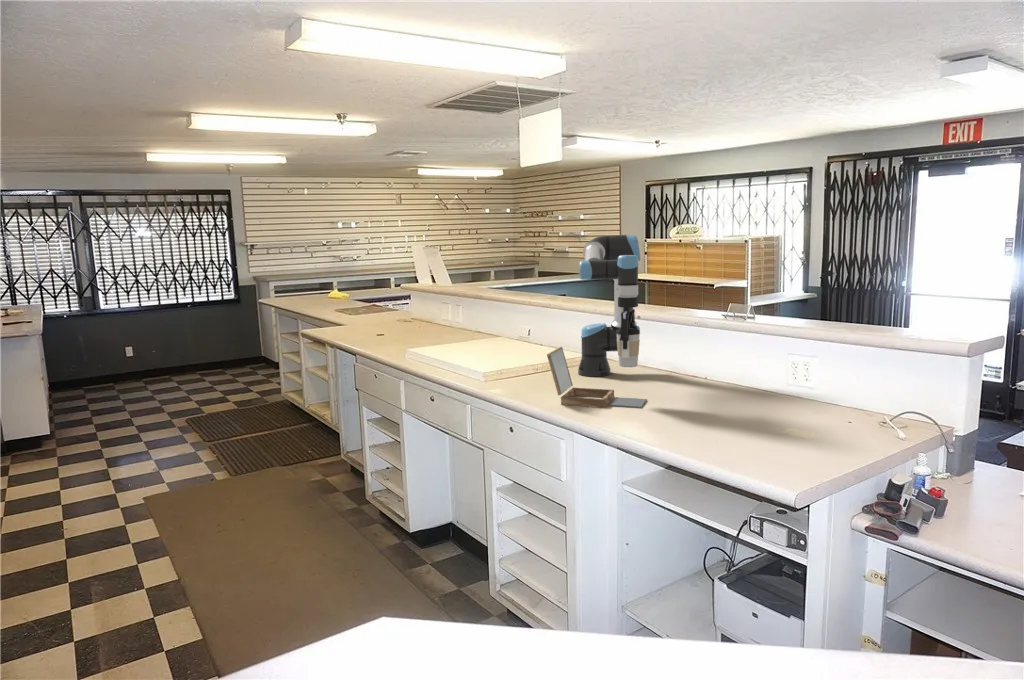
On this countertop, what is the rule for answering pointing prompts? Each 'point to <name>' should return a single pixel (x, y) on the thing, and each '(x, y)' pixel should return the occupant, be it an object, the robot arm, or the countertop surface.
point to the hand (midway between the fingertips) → (628, 355)
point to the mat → (628, 402)
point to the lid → (559, 370)
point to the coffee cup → (633, 347)
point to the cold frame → (575, 401)
